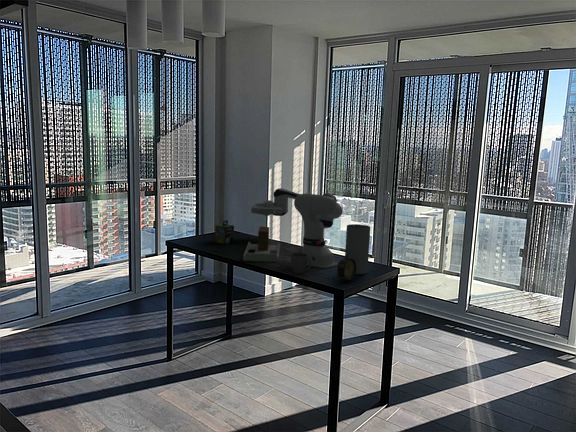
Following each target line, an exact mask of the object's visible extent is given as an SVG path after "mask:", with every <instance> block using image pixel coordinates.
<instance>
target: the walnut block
mask: <svg viewBox="0 0 576 432" xmlns="http://www.w3.org/2000/svg"><path fill="white" fill-rule="evenodd" d="M257 233H258V234H257V244H258V250H263V251H268V247H269V245H270V226H259V228H258V232H257Z"/></svg>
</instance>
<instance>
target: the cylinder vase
mask: <svg viewBox="0 0 576 432" xmlns="http://www.w3.org/2000/svg"><path fill="white" fill-rule="evenodd" d="M345 232H346V233H345V248H344V249H345V251H344V252H346V255H348V258H350V259H353V260H354V261H355V263H356V272H355V274H357V275H359V274H362V275H365V274H368V270H369V269H368V267H369V255H370V254H369V253H370V239H371V238H370V237H371V226H370V225H367V224H357V223H354V224H347V225H346V231H345ZM346 250H348V251H349V254H348V251H346ZM344 258H346V256H345V255H344Z"/></svg>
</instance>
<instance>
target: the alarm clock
mask: <svg viewBox="0 0 576 432" xmlns="http://www.w3.org/2000/svg"><path fill="white" fill-rule="evenodd" d="M346 251H348V250H346ZM344 252H345V251H344ZM348 254H349V251H348ZM345 256H346V258H345ZM336 268H337V275H338V278H340V279H341V281H342V282H341V284H344V281H351V280H352V279H354V277H355V272H356V263H355V261H354V260H353V259H350V258H348V255H346V252H345V253H344V257H343V258H342V259H341V260H339V262H338V265H337V267H336Z"/></svg>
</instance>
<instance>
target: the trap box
mask: <svg viewBox="0 0 576 432" xmlns="http://www.w3.org/2000/svg"><path fill="white" fill-rule="evenodd" d="M280 246H281V243H280V242H278V243H277V244H269V247H268V251H263V250H258V243H256V244H255V243H251V241H248V243H247V246H246V248H245V250H244V253H243V256H242V257H243V258H242V261H245V262H246V261H247V262H264V263H265V262H266V263H267V262H270V263H279V259H280V258H279V257H280ZM250 250H254V252H249V251H250ZM271 251H276V253H271Z"/></svg>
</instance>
